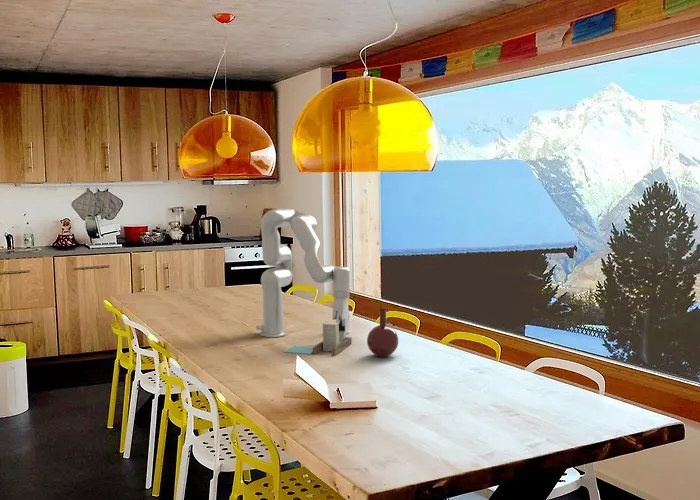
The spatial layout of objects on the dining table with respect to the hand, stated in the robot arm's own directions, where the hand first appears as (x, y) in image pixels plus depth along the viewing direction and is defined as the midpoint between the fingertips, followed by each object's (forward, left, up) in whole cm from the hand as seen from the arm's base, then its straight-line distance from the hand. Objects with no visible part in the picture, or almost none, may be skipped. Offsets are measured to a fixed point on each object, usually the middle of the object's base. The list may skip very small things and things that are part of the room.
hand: (341, 334), depth 340 cm
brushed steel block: (0, -6, -4) cm, 7 cm away
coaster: (-12, -18, -4) cm, 22 cm away
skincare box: (0, -14, -4) cm, 15 cm away
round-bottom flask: (+24, -17, -4) cm, 30 cm away
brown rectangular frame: (0, -12, -4) cm, 13 cm away
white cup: (-6, +23, -4) cm, 24 cm away
